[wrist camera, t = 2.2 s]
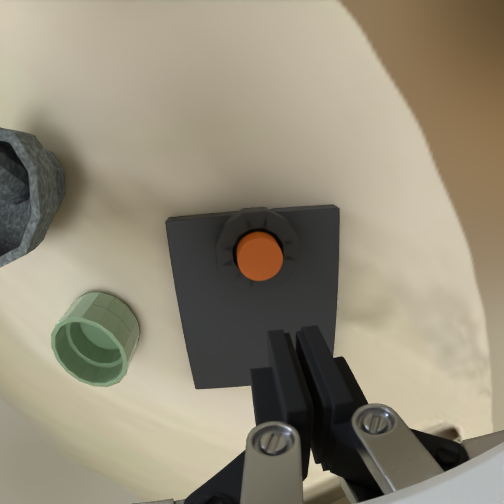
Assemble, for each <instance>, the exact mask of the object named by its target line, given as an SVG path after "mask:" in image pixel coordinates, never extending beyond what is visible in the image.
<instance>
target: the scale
mask: <svg viewBox="0 0 504 504" xmlns="http://www.w3.org/2000/svg"><path fill="white" fill-rule="evenodd" d="M165 223H166V230H167V238H168V245H169V252H170V258H171V265H172V271H173V277H174V283H175V289H176V295H177V301H178V306H179V312H180V317H181V322H182V328H183V333H184V338H185V343H186V348H187V352H188V357H189V362H190V366H191V371H192V375H193V380H194V384H195V388H196V389H211V388H226V387H238V386H250V385H251V377H250V369H252V368H262V367H269V363H268V343H267V331H269V330H278V329H283V331H284V333H287V332H289V333H290V336H291V339H292V342H293V345H294V348H295V351H296V331H301V327H304V326H311V325H317V326H318V328H319V330H320V332H321V334H322V336H323V338H324V340H325V342H326V344H327V346H328V348H329V350H330V352H331V354H332V356H333V351H334V339H335V326H336V311H337V292H338V269H339V208H338V207H337V206H335V205H320V206H303V207H288V208H273V209H268V208H266V207H256V208H244V209H241V210H240V211H235V212H223V213H212V214H201V215H190V216H180V217H170V218H168V219H167V221H166V222H165ZM256 231H260V232H265V233H268V234H270V235H271V236H272V237H273V238H274V239H275V240H276V242H277V243H278V245H279V247H280V249H281V251H282V255H283V262H282V266H281V268H280V270H279V271H278V273H277V274H276V275H274V276H273V277H272V278H270V279H267V280H263V281H255V280H252V279H249V278H247V277H246V276H245V275H243V273H242V272H241V271H240V269H239V266H238V262H237V246H238V244H239V242H240V240H241V239H242V238H243V237H244V236H246V235H247V234H249V233H252V232H256Z"/></svg>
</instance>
